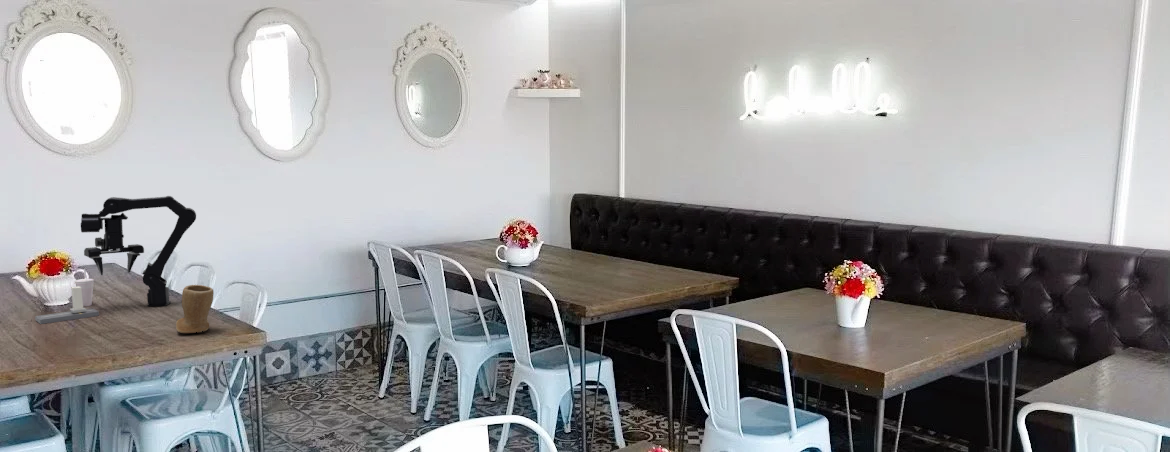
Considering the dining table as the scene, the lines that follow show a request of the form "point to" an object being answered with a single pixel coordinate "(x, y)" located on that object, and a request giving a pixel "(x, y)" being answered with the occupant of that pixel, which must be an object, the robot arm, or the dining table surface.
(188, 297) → the tan boot
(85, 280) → the smoothie
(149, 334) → the dining table surface
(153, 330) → the dining table surface
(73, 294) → the fader
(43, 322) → the fader board
